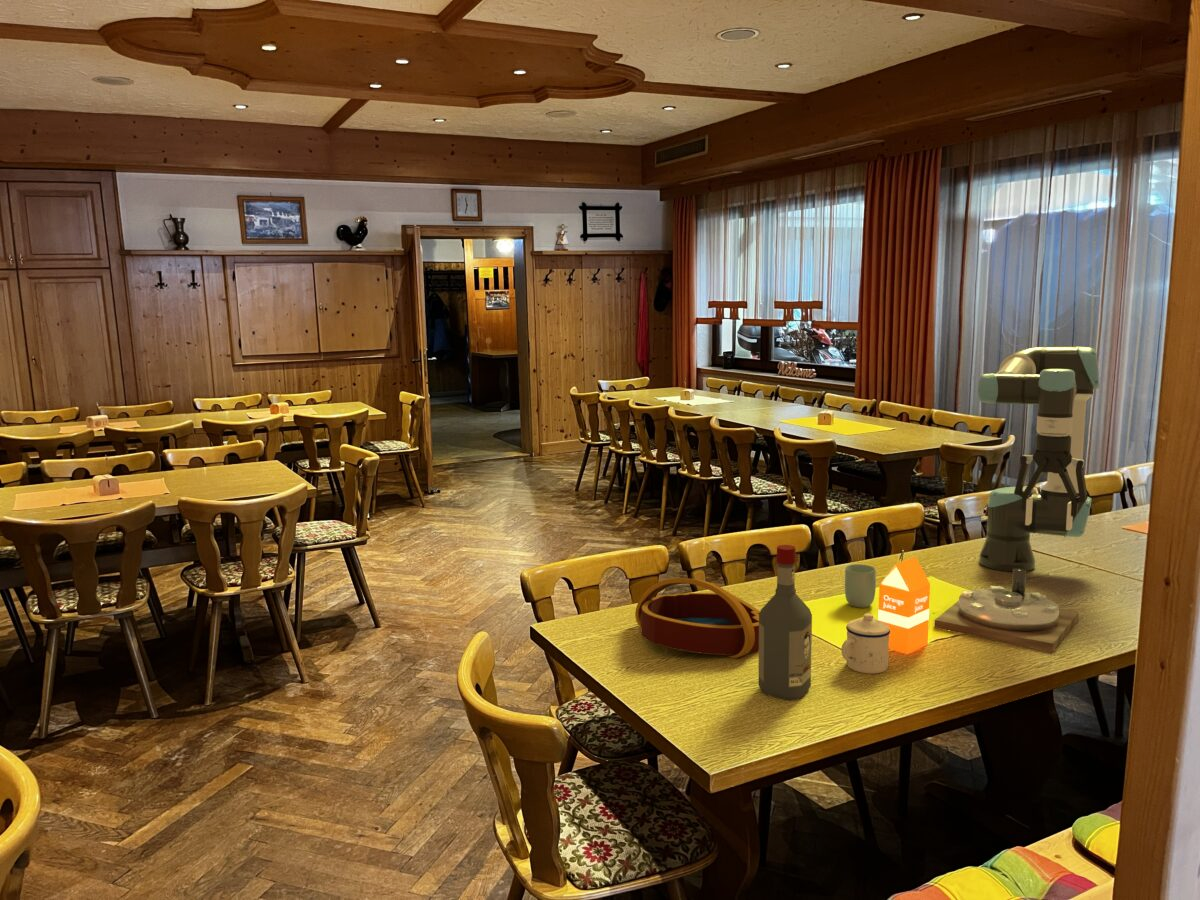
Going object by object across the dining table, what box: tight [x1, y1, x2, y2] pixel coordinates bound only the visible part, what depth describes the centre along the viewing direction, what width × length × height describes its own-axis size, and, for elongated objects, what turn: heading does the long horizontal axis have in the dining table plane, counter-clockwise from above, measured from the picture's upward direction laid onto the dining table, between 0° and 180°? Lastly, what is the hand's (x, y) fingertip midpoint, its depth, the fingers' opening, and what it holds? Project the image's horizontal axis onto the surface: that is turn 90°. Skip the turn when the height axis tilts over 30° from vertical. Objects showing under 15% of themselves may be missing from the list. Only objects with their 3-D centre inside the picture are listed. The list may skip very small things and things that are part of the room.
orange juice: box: [877, 556, 931, 655], centre depth 198 cm, size 8×9×20 cm
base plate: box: [933, 600, 1080, 653], centre depth 211 cm, size 26×26×2 cm
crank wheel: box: [958, 568, 1060, 631], centre depth 210 cm, size 22×22×9 cm
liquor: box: [758, 544, 813, 701], centre depth 175 cm, size 9×9×30 cm
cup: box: [844, 563, 877, 609], centre depth 226 cm, size 8×8×10 cm
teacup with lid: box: [840, 613, 890, 675], centre depth 186 cm, size 12×9×12 cm
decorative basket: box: [634, 577, 761, 659], centre depth 205 cm, size 34×29×15 cm
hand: (1048, 526), depth 211 cm, fingers open, 8 cm apart
